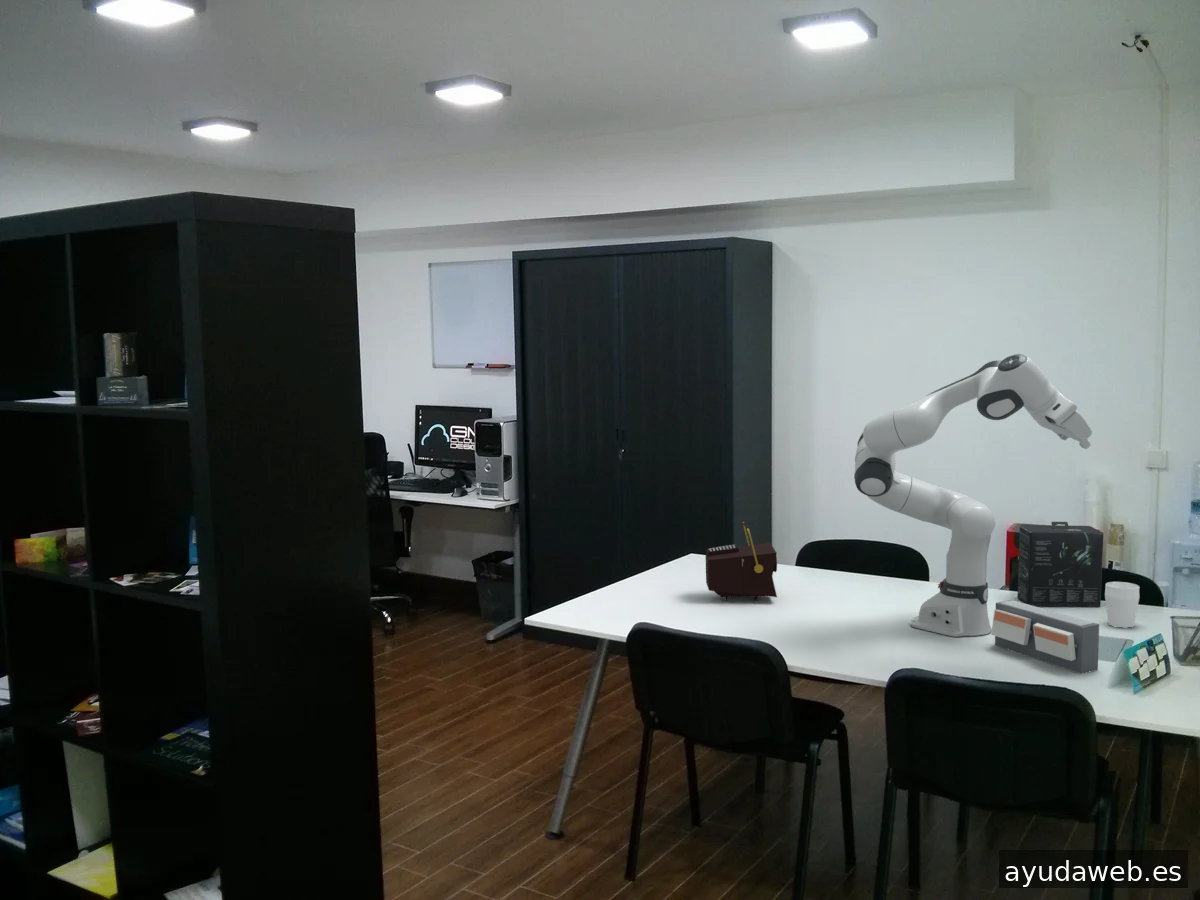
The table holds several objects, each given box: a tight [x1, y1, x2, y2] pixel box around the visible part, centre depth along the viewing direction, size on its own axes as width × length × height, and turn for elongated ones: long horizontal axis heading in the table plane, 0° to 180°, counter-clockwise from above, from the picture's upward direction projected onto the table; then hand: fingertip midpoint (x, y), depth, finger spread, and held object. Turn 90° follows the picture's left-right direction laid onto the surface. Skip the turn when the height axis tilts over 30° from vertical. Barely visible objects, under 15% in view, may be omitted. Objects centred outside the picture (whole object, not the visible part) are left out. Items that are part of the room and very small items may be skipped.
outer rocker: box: [1033, 623, 1077, 661], centre depth 264 cm, size 3×12×7 cm, turn 26°
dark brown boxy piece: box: [705, 521, 778, 602], centre depth 339 cm, size 16×23×25 cm
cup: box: [1104, 581, 1140, 629], centre depth 298 cm, size 9×9×12 cm
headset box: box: [1017, 521, 1104, 608], centre depth 324 cm, size 22×12×26 cm, turn 84°
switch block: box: [994, 599, 1100, 675], centre depth 274 cm, size 12×28×12 cm, turn 26°
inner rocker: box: [990, 609, 1032, 645], centre depth 276 cm, size 3×12×7 cm, turn 26°
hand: (1076, 442), depth 265 cm, fingers open, 8 cm apart
